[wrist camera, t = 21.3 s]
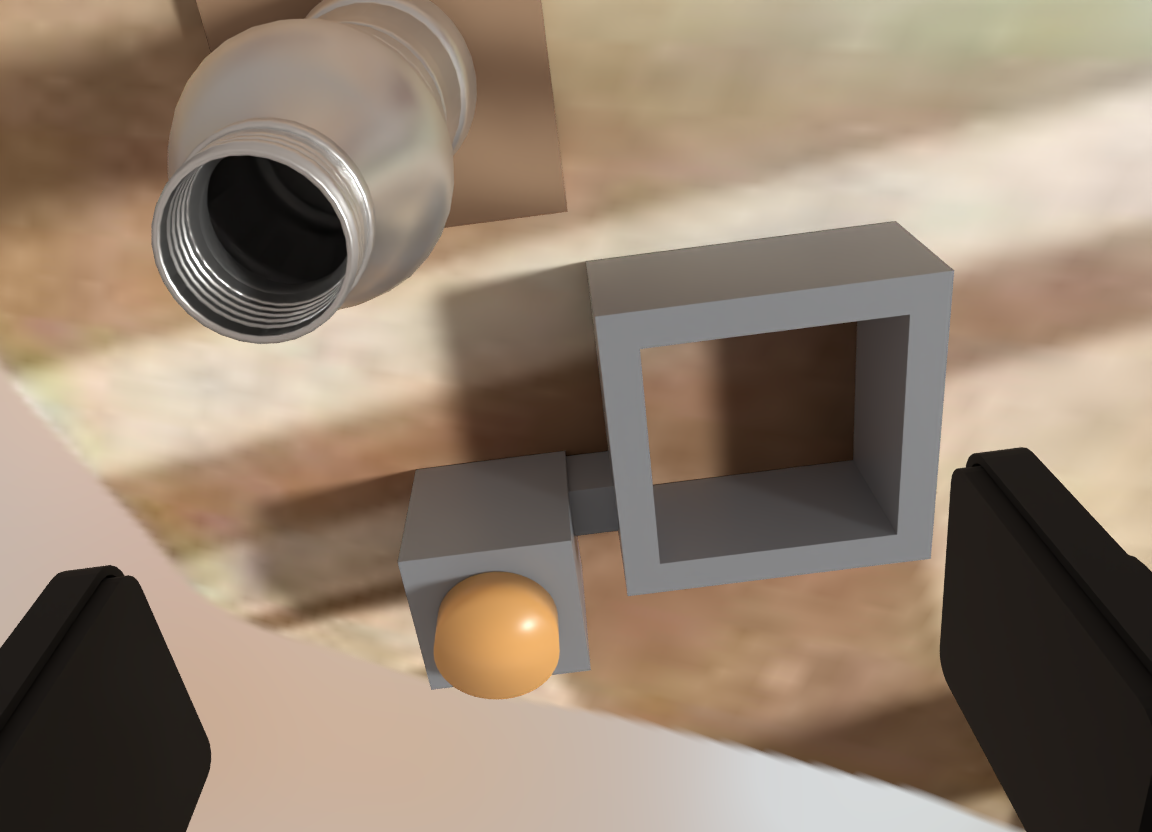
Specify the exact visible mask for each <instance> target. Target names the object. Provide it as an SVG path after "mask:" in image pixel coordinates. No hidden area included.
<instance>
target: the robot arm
mask: <svg viewBox="0 0 1152 832" xmlns="http://www.w3.org/2000/svg"><path fill="white" fill-rule="evenodd" d="M940 660H941V666H942V670H943V674H944V677H945V679H946V682H947V684H948V686H949V688H950V690H951V692H952V694H953V695H954V697H955V699H956V701H957V703H958V705H959V707H960V708H961V710H962V712H963V714H964V716H965V718H966V720H967V722H968V723H969V725H970V727H971V729H972V731H973V733H974V735H975V736H976V738H977V740H978V742H979V744H980V746H981V748H982V750H983V751H984V753H985V755H986V757H987V759H988V761H989V763H990V765H991V766H992V768H993V770H994V772H995V774H996V776H997V778H998V779H999V781H1000V783H1001V785H1002V787H1003V789H1004V791H1005V793H1006V794H1007V796H1008V798H1009V800H1010V802H1011V804H1012V806H1013V808H1014V809H1015V811H1016V813H1017V815H1018V817H1019V819H1020V821H1021V822H1022V824H1023V826H1024V828H1025V830H1026V832H1152V572H1151V571H1150V570H1149V569H1148V568H1147V566H1145V565H1144V564H1143V563H1142V562H1140V561H1139V560H1138V559H1137V558H1136V557H1133V556H1130V555H1128V554H1127V553H1126V552H1125V551H1124V550H1123V549H1122V548H1121V547H1120V546H1119V544H1118V543H1117V542H1116V541H1115V540H1114V539H1113V538H1112V537H1111V536H1110V535H1109V534H1108V533H1107V532H1106V531H1105V529H1104V528H1103V527H1102V526H1101V525H1100V524H1099V523H1098V522H1097V521H1096V520H1095V519H1094V518H1093V517H1092V516H1091V514H1090V513H1089V512H1088V511H1087V510H1086V509H1085V508H1084V507H1083V506H1082V505H1081V504H1080V503H1079V502H1078V500H1077V499H1076V498H1075V497H1074V496H1073V495H1072V494H1071V493H1070V492H1069V491H1068V490H1067V489H1066V488H1065V487H1064V485H1063V484H1062V483H1061V482H1060V481H1059V480H1058V479H1057V478H1056V477H1055V476H1054V475H1053V474H1052V473H1051V472H1050V470H1049V469H1048V468H1047V467H1046V466H1045V465H1044V464H1043V463H1042V462H1041V461H1040V460H1039V459H1038V458H1037V456H1036V455H1035V454H1034V453H1033V452H1032V451H1030V450H1029V449H1028V448H1023V447H1020V448H1013V449H1005V450H997V451H990V452H982V453H974V454H972V455H971V456H970V457H969V459H968V461H967V464H966V468H959V469H956V470H955V471H954V472H953V474H952V479H951V490H950V504H949V519H948V534H947V549H946V564H945V579H944V594H943V608H942V623H941V638H940ZM210 763H211V749H210V743H209V740H208V738H207V735H206V733H205V731H204V728H203V726H202V724H201V722H200V719H199V717H198V715H197V713H196V710H195V708H194V706H193V703H192V701H191V699H190V697H189V694H188V692H187V690H186V688H185V685H184V683H183V681H182V678H181V676H180V674H179V672H178V669H177V667H176V665H175V663H174V660H173V658H172V656H171V654H170V651H169V649H168V647H167V645H166V642H165V640H164V638H163V635H162V633H161V631H160V629H159V626H158V624H157V622H156V620H155V617H154V615H153V613H152V611H151V608H150V606H149V604H148V601H147V599H146V597H145V595H144V593H143V590H142V588H141V586H140V584H139V582H138V581H137V580H136V579H135V578H134V577H133V576H129V575H128V576H124V574H123V573H122V571H121V570H119V569H118V568H117V567H115V566H111V565H108V566H100V567H93V568H85V569H77V570H69V571H64V572H61V573H58V574H57V575H56V576H55V577H54V578H53V579H52V580H51V581H50V582H49V584H48V585H47V586H46V588H45V589H44V590H43V592H42V593H41V594H40V596H39V597H38V598H37V600H36V601H35V603H34V604H33V605H32V607H31V608H30V609H29V611H28V612H27V613H26V615H25V616H24V617H23V619H22V620H21V621H20V623H19V624H18V625H17V627H16V628H15V629H14V631H13V632H12V633H11V635H10V636H9V637H8V639H7V640H6V641H5V643H4V644H3V645H2V647H1V648H0V832H186V830H187V827H188V825H189V822H190V820H191V817H192V815H193V812H194V809H195V807H196V804H197V802H198V799H199V797H200V794H201V792H202V789H203V786H204V784H205V781H206V779H207V776H208V773H209V770H210Z"/></svg>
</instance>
